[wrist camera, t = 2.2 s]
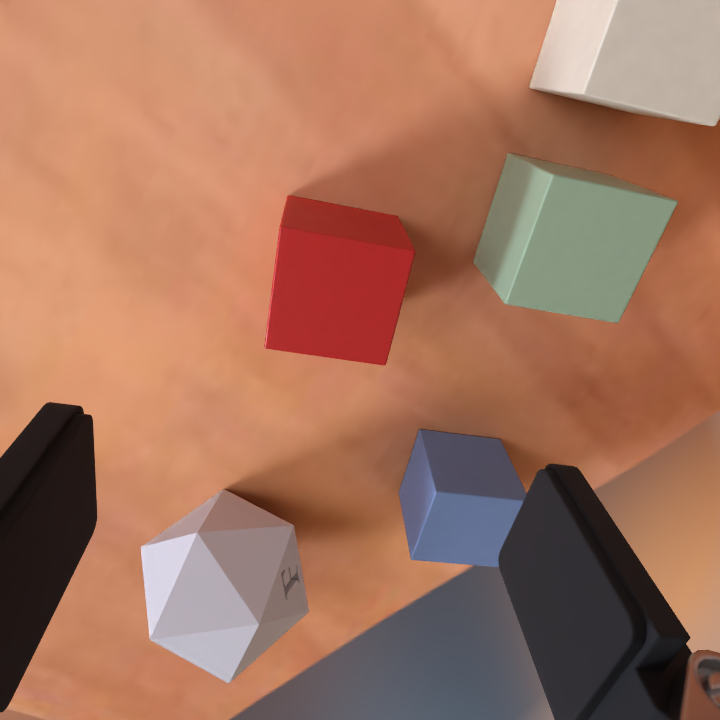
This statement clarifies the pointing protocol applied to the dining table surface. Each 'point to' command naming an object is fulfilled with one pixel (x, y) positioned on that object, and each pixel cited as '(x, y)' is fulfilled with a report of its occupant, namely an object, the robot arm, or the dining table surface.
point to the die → (223, 584)
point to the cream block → (635, 57)
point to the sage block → (569, 238)
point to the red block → (337, 281)
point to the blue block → (459, 498)
